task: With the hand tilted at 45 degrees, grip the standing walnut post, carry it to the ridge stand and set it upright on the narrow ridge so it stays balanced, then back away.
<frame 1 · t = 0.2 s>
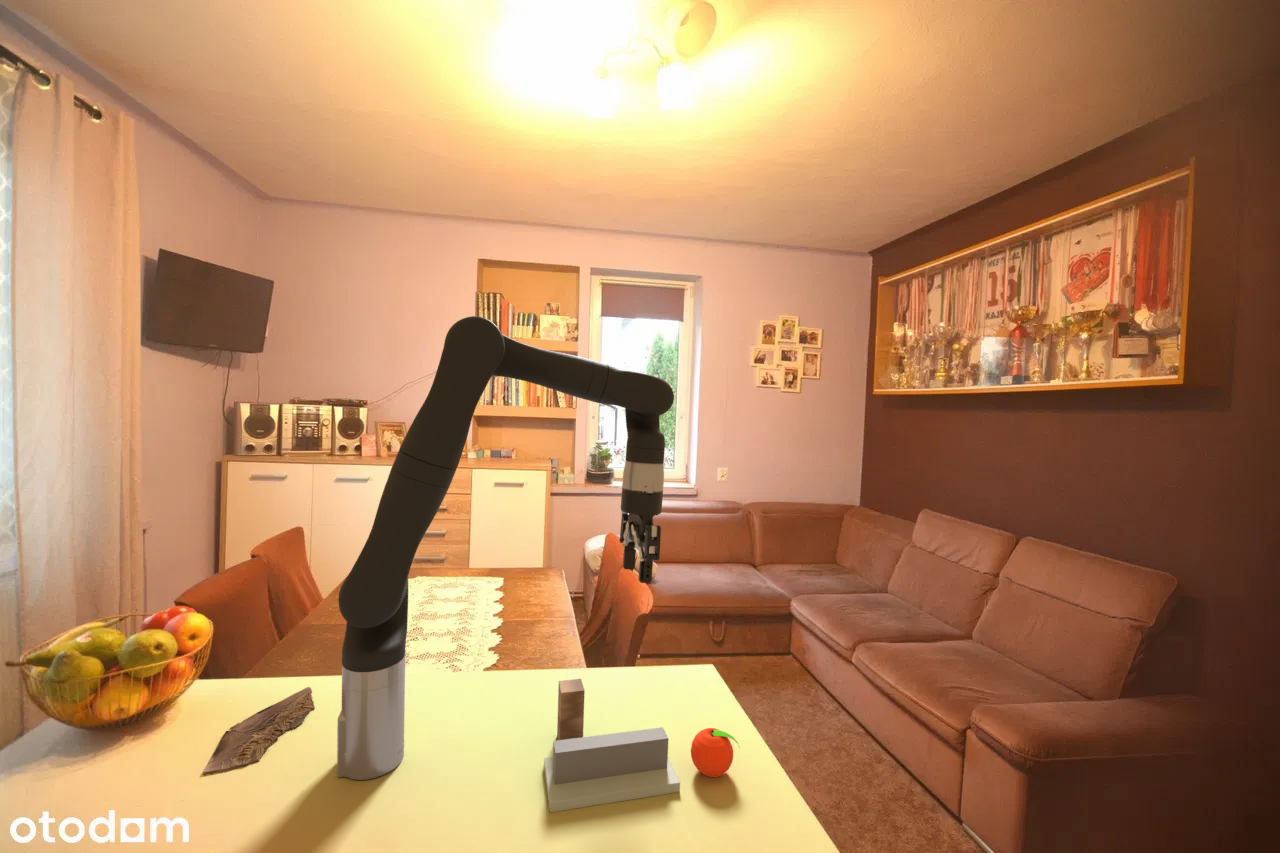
hand: (636, 575, 100), 28 cm above the table, tool pointing down, fingers open, 8 cm apart
clementine: (714, 773, 90), on the table
ridge stand: (610, 779, 87), on the table
walnut post: (569, 740, 96), on the table
wooden fragment: (267, 728, 98), on the table
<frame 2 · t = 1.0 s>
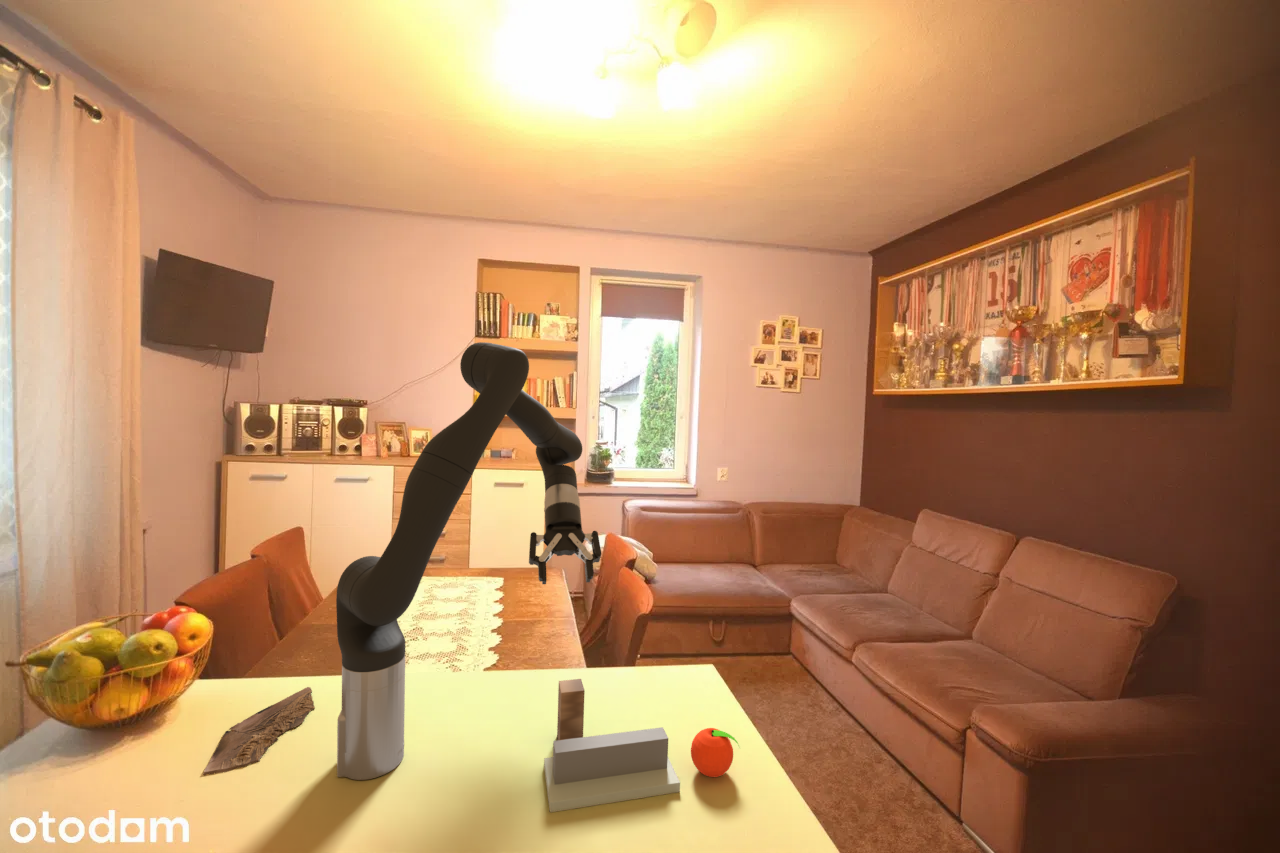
hand: (566, 581, 106), 25 cm above the table, tool tilted 45°, fingers open, 8 cm apart
nothing on the table moved.
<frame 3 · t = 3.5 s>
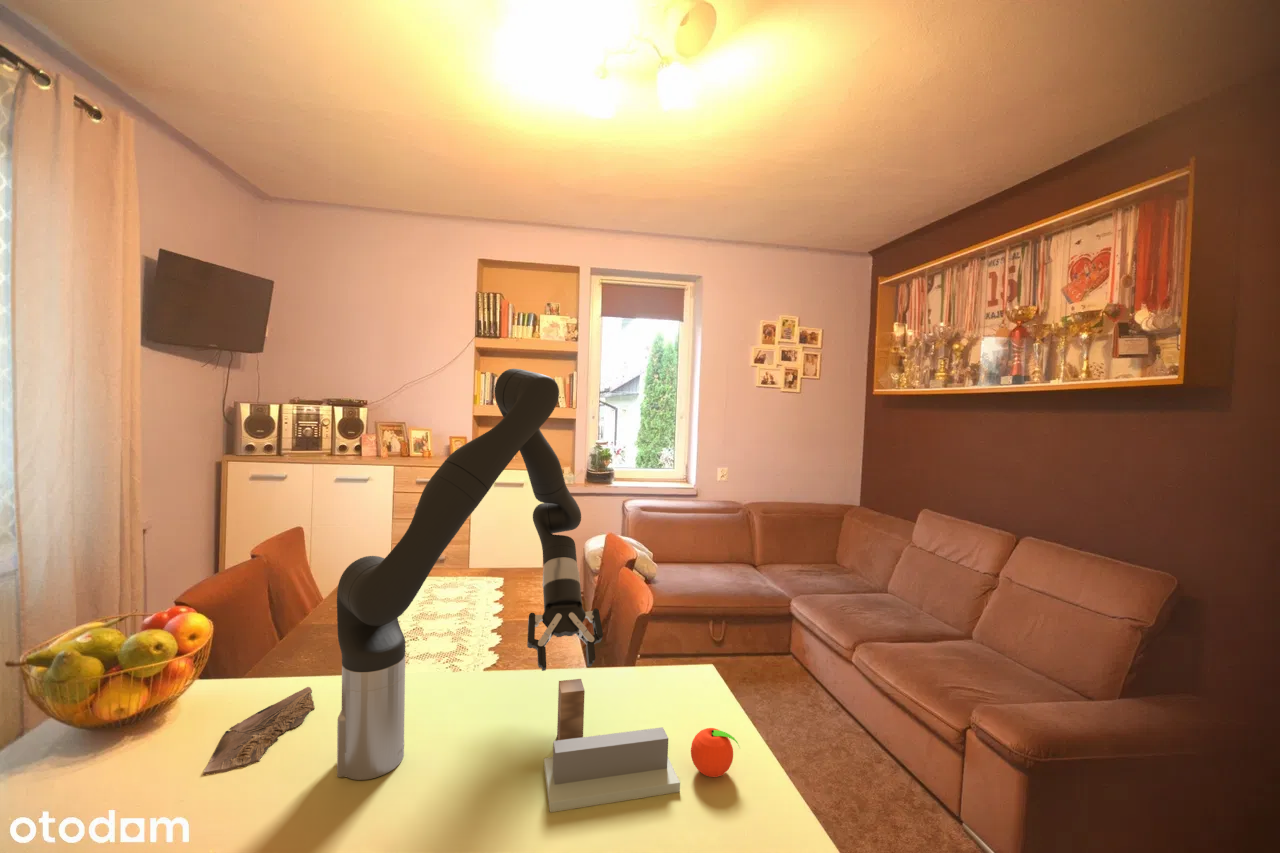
hand: (567, 667, 101), 10 cm above the table, tool tilted 45°, fingers open, 8 cm apart
nothing on the table moved.
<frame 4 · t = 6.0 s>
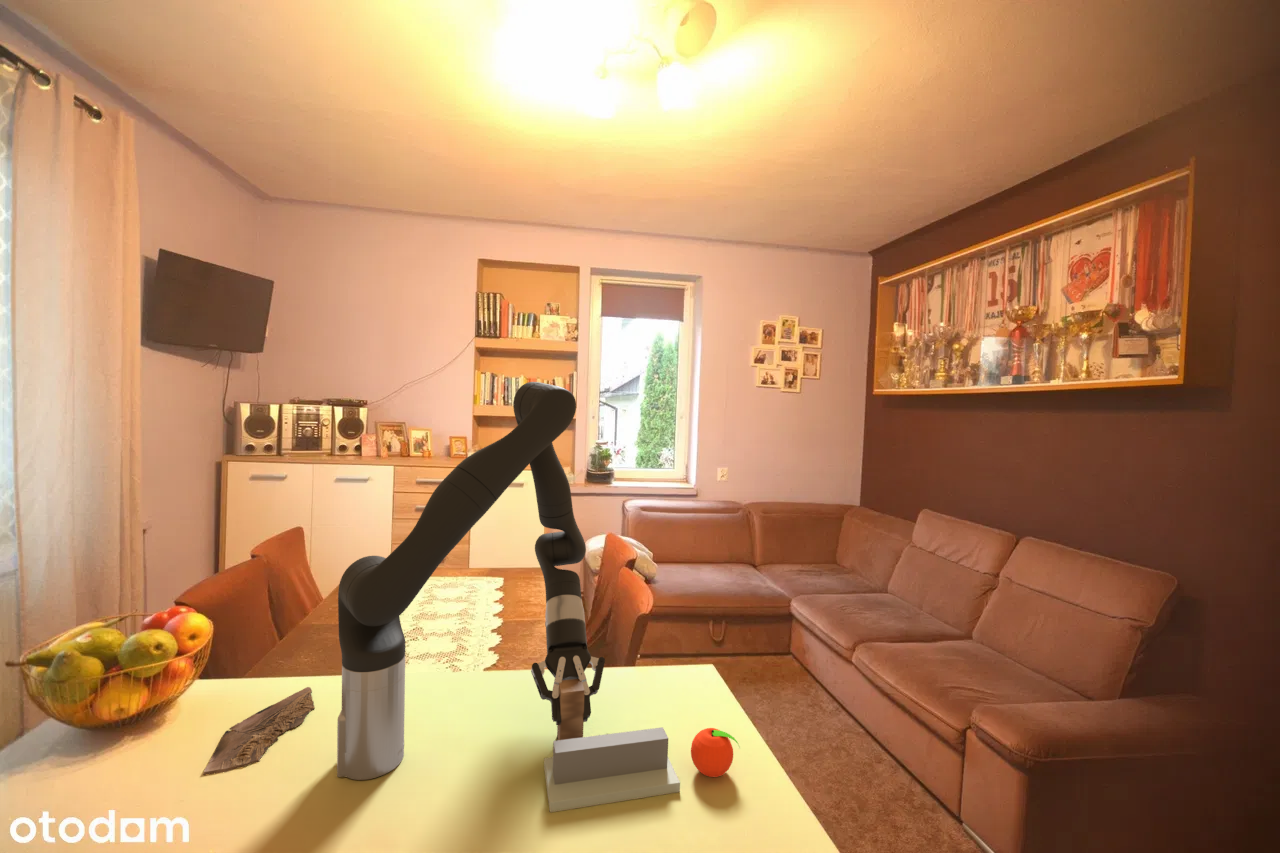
hand: (572, 721, 94), 5 cm above the table, tool tilted 45°, fingers closed on walnut post, 4 cm apart
walnut post: (569, 740, 96), on the table, touching gripper
everything else where it was.
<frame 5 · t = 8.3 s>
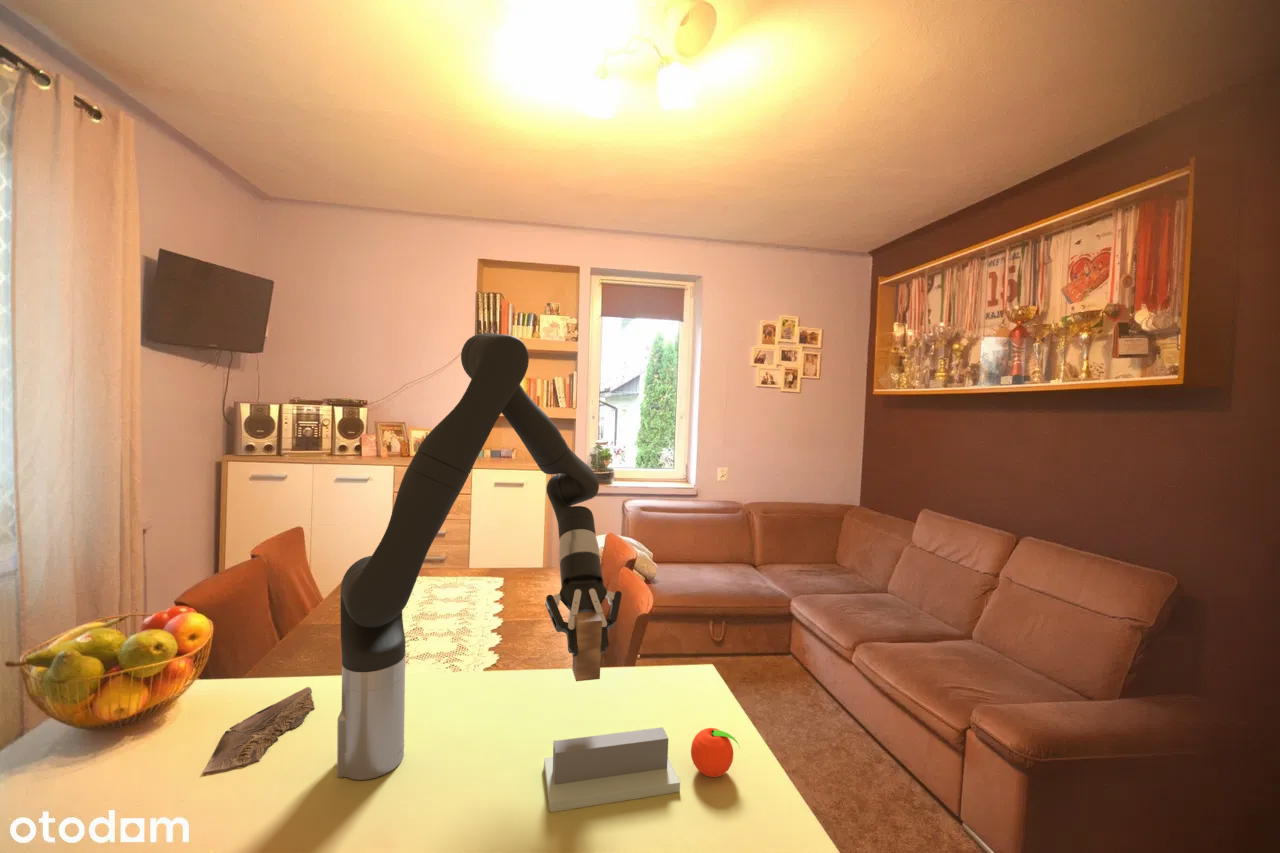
hand: (589, 653, 91), 18 cm above the table, tool tilted 45°, fingers closed on walnut post, 4 cm apart
walnut post: (585, 674, 93), point 14 cm above the table, touching gripper
everything else where it was.
when the fingers open (12 cm above the table, at t = 10.9 s): walnut post stays where it is, resting on ridge stand.
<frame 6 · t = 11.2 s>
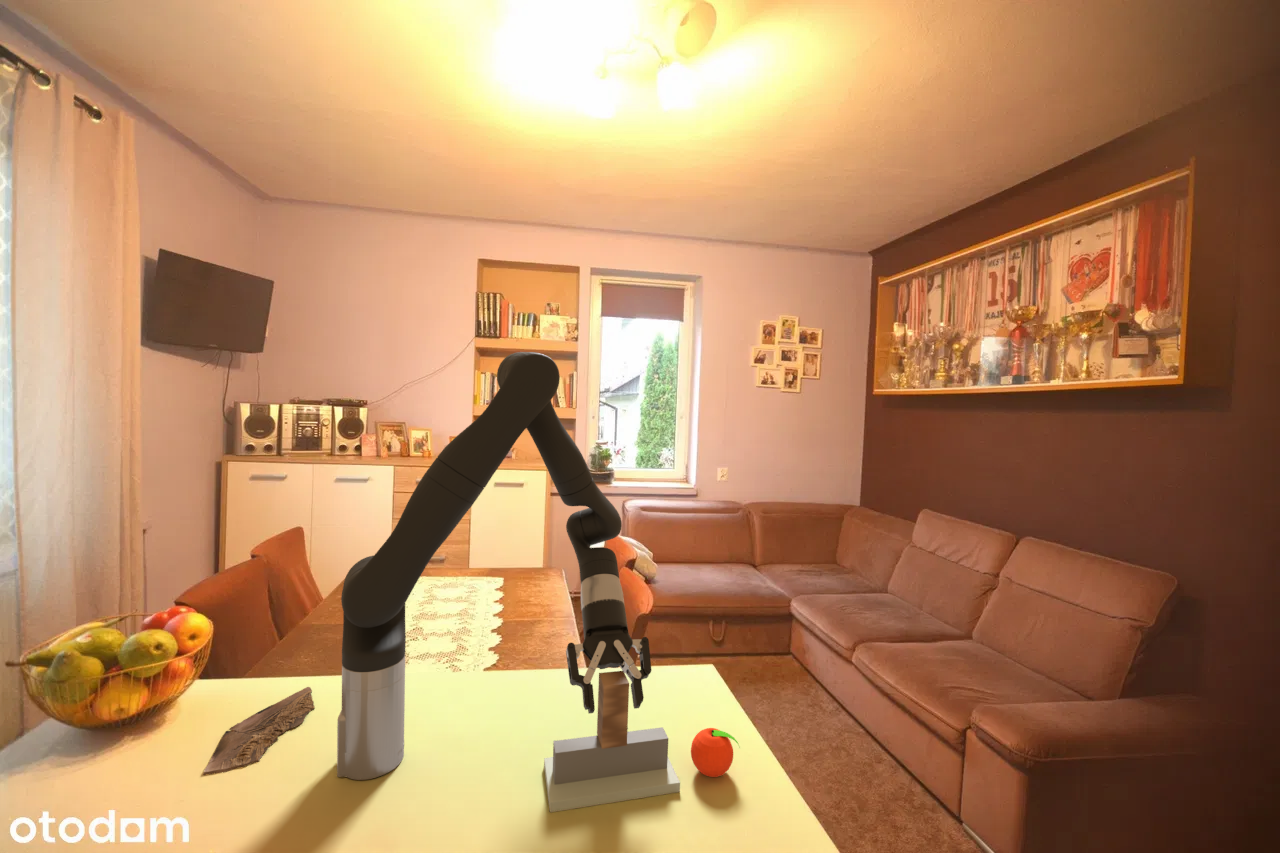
hand: (614, 709, 85), 12 cm above the table, tool tilted 45°, fingers open, 6 cm apart
walnut post: (611, 739, 87), point 6 cm above the table, touching ridge stand
everything else where it was.
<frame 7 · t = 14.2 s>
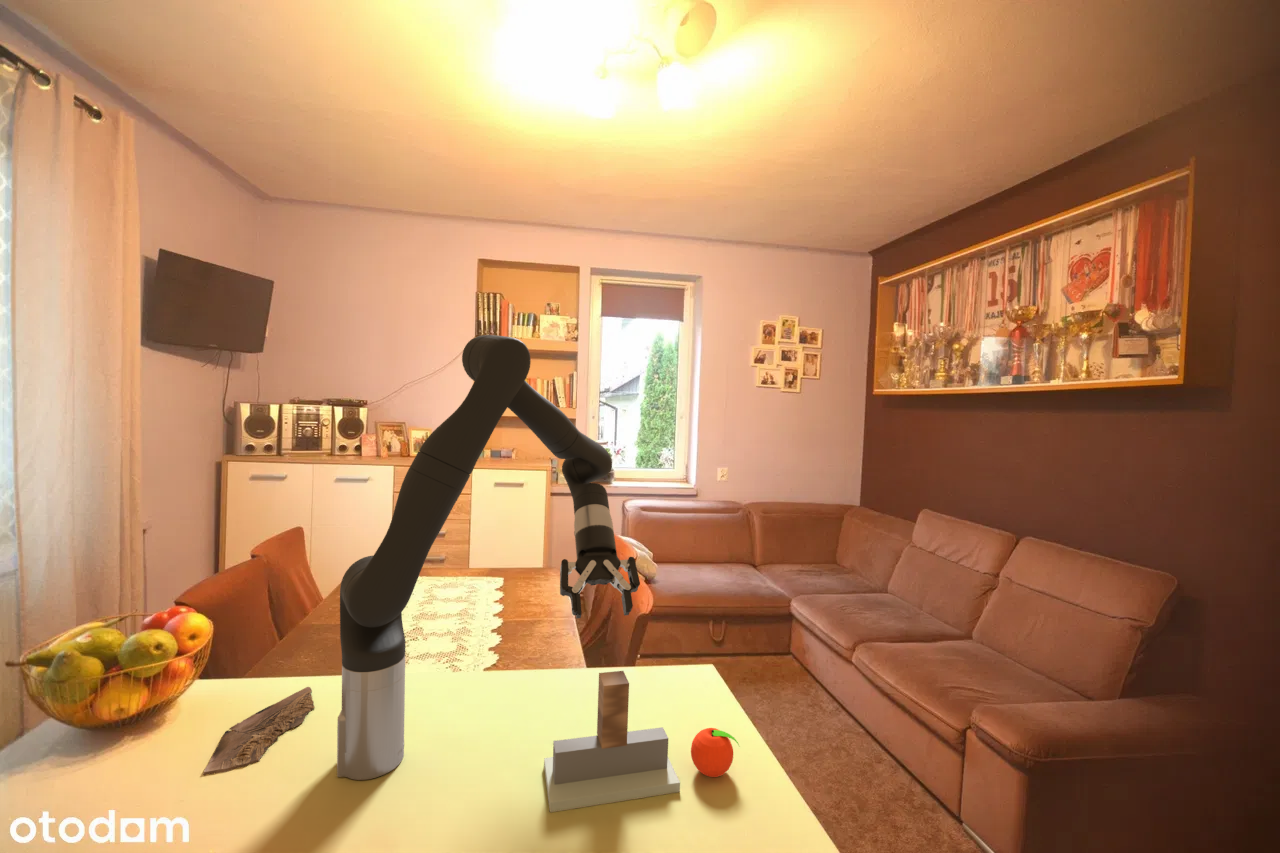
hand: (603, 615, 95), 23 cm above the table, tool tilted 45°, fingers open, 8 cm apart
nothing on the table moved.
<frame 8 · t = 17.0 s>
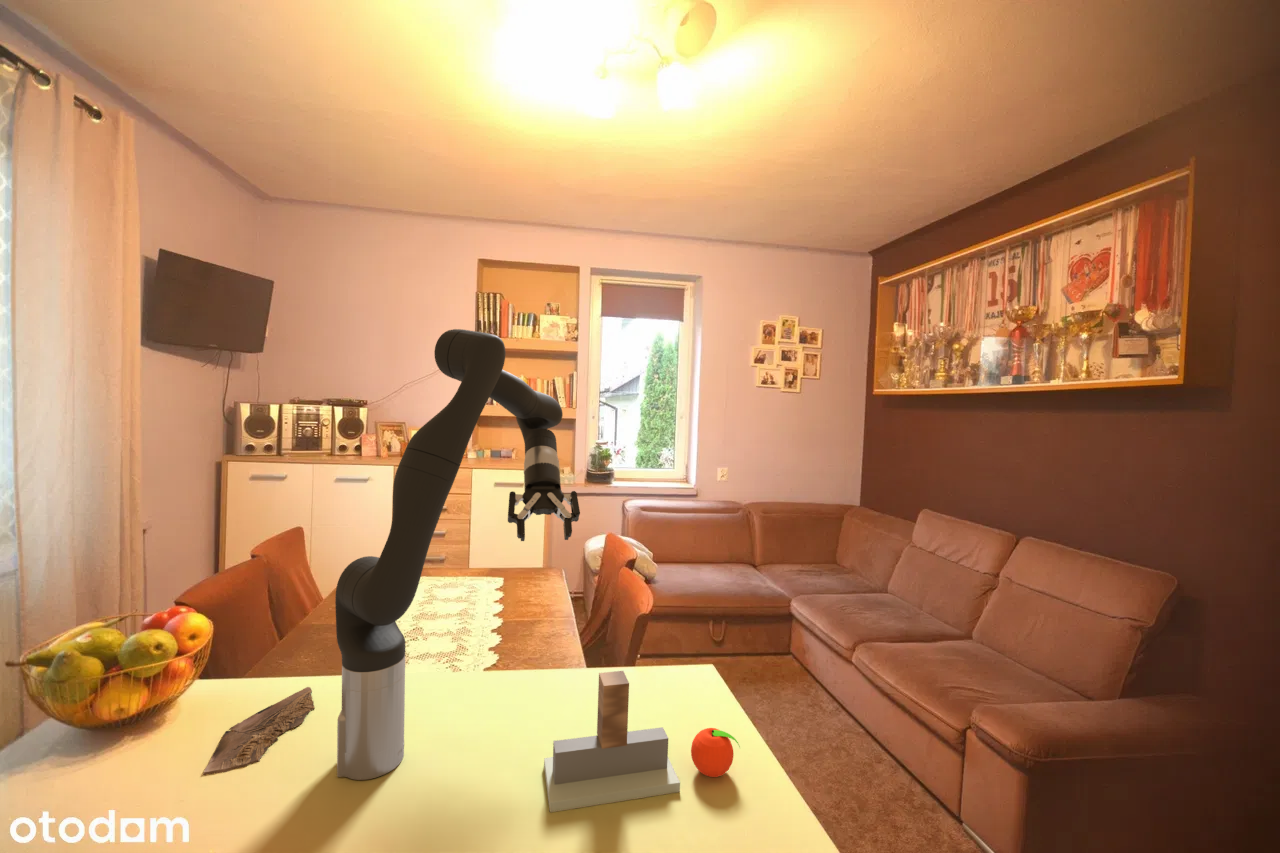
hand: (545, 538, 107), 33 cm above the table, tool tilted 45°, fingers open, 8 cm apart
nothing on the table moved.
at the end: walnut post inside the target area on the ridge stand (0.1 cm from its centre), point 6.5 cm above the ridge stand's base; walnut post tilted 0°; the gripper is holding nothing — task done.
